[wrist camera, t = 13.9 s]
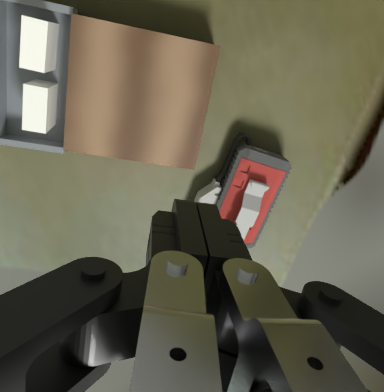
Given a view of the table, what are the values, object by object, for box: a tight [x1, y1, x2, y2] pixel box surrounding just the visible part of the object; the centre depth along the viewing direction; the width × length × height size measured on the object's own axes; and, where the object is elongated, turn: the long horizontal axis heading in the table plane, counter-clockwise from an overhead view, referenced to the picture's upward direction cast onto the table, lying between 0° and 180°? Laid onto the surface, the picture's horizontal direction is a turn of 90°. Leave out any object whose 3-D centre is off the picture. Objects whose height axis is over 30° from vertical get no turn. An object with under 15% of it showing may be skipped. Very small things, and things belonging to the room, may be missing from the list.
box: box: [0, 0, 78, 154], centre depth 33 cm, size 6×13×2 cm, turn 168°
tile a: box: [19, 15, 59, 73], centre depth 31 cm, size 4×4×2 cm
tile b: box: [22, 79, 58, 134], centre depth 33 cm, size 4×4×2 cm
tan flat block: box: [63, 13, 220, 170], centre depth 34 cm, size 13×12×3 cm
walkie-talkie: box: [194, 133, 291, 248], centre depth 41 cm, size 9×4×20 cm
